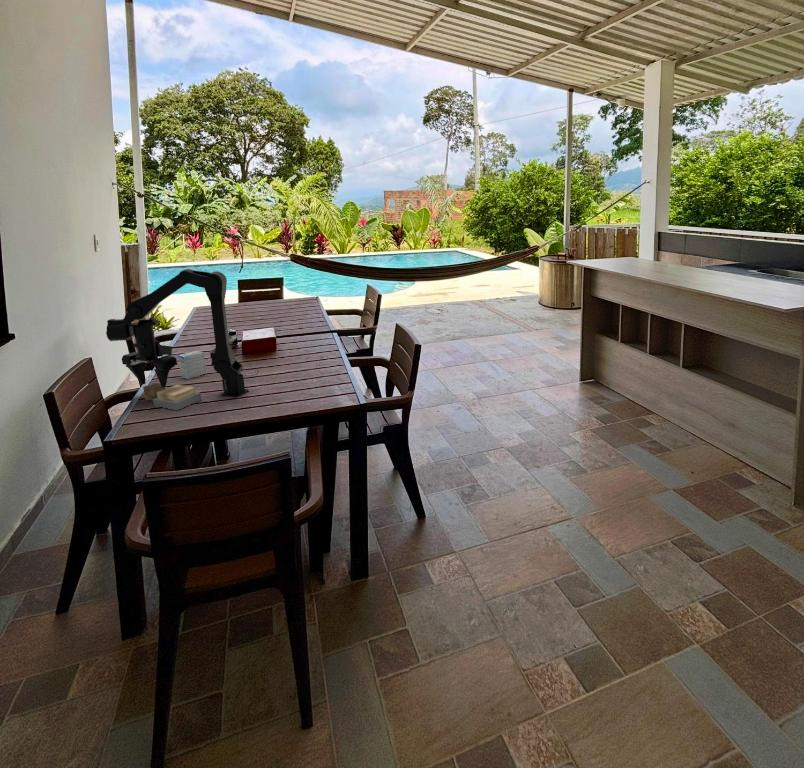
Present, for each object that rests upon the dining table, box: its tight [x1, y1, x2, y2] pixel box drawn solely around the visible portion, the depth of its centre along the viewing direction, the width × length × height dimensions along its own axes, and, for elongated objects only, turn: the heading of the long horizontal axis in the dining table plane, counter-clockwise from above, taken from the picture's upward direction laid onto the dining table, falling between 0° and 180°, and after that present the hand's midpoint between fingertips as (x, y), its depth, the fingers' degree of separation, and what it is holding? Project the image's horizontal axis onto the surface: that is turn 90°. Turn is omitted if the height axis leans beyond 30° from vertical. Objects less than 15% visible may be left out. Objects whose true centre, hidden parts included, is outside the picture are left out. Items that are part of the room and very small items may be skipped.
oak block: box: [157, 384, 197, 402], centre depth 175 cm, size 8×8×2 cm
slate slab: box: [152, 391, 203, 411], centre depth 176 cm, size 10×10×2 cm
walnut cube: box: [142, 382, 166, 402], centre depth 181 cm, size 4×4×4 cm
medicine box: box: [177, 350, 207, 380], centre depth 202 cm, size 8×4×9 cm, turn 141°
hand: (153, 385), depth 180 cm, fingers open, 9 cm apart
